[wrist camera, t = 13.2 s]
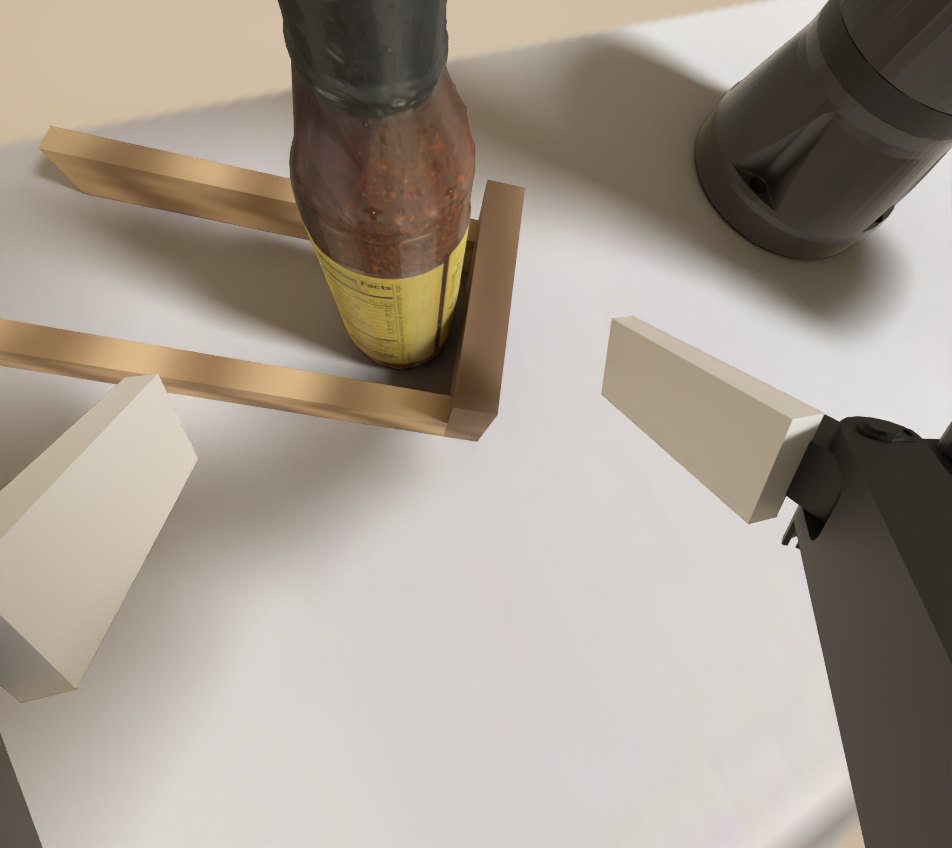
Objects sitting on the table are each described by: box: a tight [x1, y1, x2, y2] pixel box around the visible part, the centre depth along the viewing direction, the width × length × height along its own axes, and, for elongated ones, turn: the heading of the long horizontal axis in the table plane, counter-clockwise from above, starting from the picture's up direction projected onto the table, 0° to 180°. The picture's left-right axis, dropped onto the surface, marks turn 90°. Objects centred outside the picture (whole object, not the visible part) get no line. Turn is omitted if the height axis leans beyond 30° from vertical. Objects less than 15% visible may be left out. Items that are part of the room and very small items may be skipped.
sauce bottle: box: [278, 0, 475, 369], centre depth 16 cm, size 7×6×20 cm
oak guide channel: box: [0, 126, 525, 441], centre depth 22 cm, size 25×12×6 cm, turn 84°
